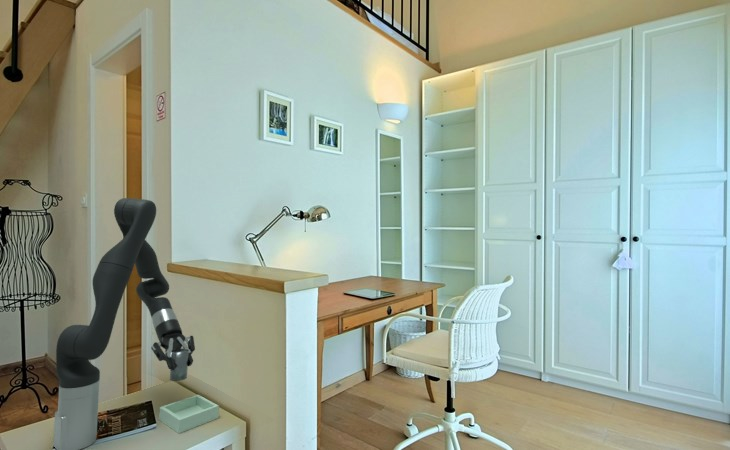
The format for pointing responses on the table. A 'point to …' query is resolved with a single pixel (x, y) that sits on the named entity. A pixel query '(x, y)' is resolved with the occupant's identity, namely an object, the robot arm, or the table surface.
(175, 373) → the metal tin
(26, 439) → the table surface
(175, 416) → the tray
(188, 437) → the table surface
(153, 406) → the table surface
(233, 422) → the table surface
